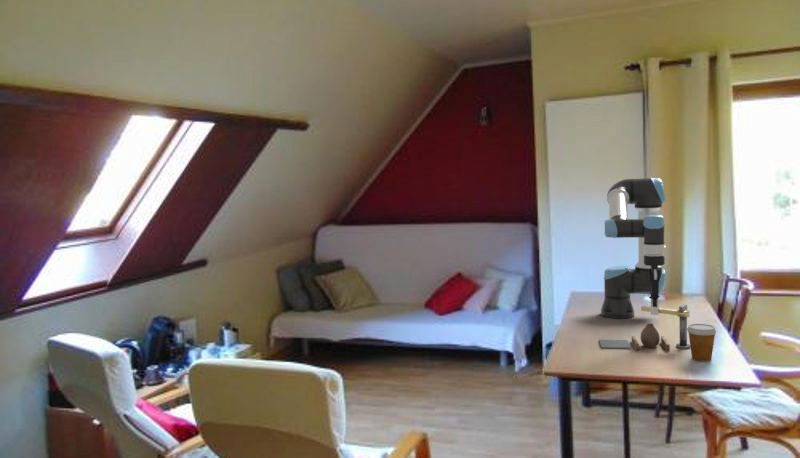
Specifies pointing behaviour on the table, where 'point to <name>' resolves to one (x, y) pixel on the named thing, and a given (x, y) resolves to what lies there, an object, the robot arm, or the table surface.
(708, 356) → the disposable coffee cup
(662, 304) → the table surface
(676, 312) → the latch
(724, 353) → the table surface
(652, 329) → the vase
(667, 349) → the cradle
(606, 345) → the mat
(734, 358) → the table surface
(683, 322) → the post
